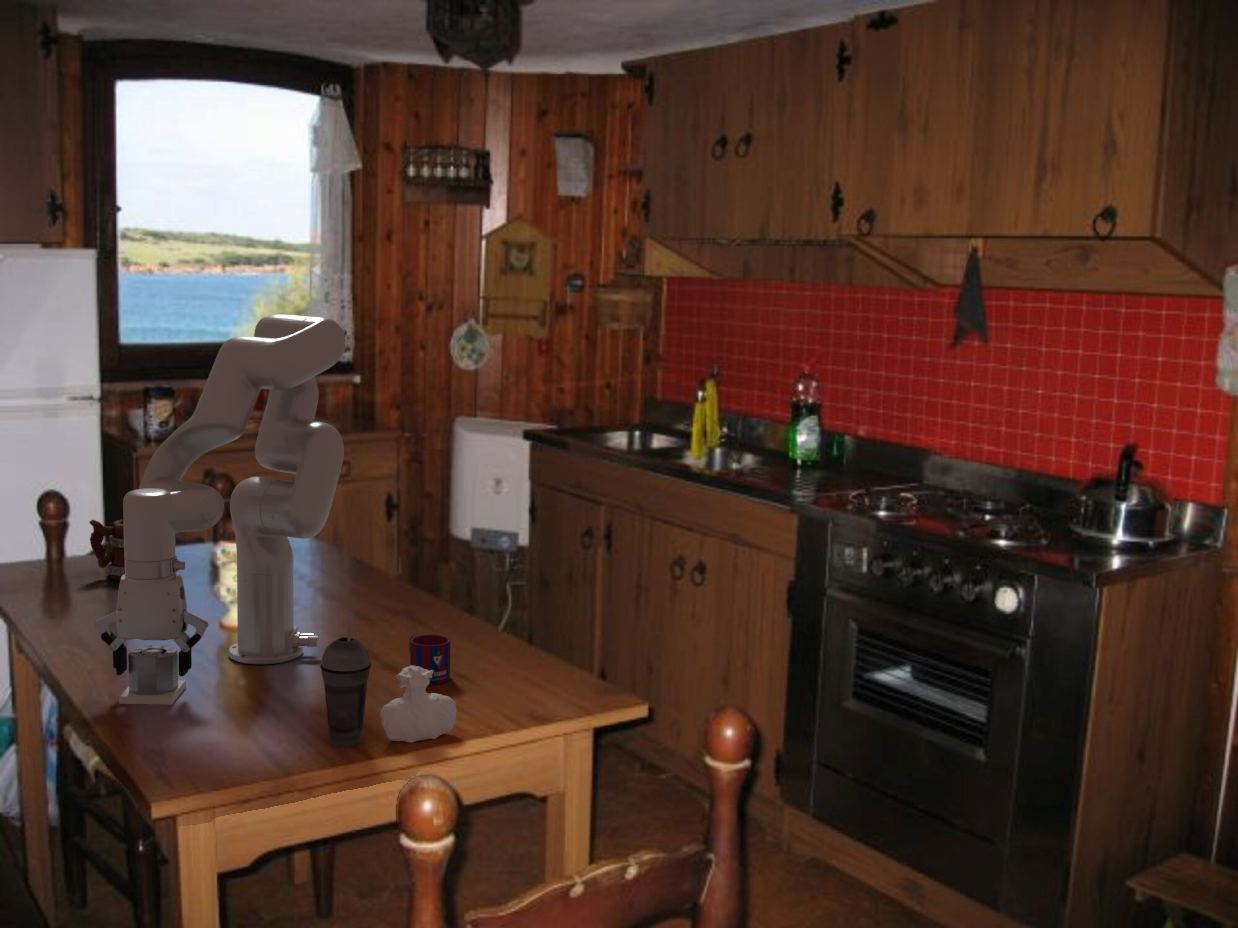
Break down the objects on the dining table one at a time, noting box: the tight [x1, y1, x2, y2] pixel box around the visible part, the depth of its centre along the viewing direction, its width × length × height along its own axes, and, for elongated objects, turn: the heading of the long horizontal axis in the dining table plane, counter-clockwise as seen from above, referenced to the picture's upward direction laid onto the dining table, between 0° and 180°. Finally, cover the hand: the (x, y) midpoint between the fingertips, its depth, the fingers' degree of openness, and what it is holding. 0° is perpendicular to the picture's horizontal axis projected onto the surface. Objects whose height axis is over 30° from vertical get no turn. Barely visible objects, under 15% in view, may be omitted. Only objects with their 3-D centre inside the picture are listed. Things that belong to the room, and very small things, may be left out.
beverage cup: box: [319, 609, 372, 748], centre depth 187 cm, size 7×7×20 cm
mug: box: [88, 518, 125, 582], centre depth 275 cm, size 12×14×15 cm
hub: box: [127, 644, 179, 695], centre depth 204 cm, size 7×7×6 cm
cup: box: [408, 633, 452, 686], centre depth 218 cm, size 7×10×7 cm
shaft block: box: [118, 650, 187, 706], centre depth 204 cm, size 8×8×7 cm
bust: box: [378, 664, 457, 744], centre depth 192 cm, size 12×8×11 cm
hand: (152, 672), depth 204 cm, fingers open, 9 cm apart
